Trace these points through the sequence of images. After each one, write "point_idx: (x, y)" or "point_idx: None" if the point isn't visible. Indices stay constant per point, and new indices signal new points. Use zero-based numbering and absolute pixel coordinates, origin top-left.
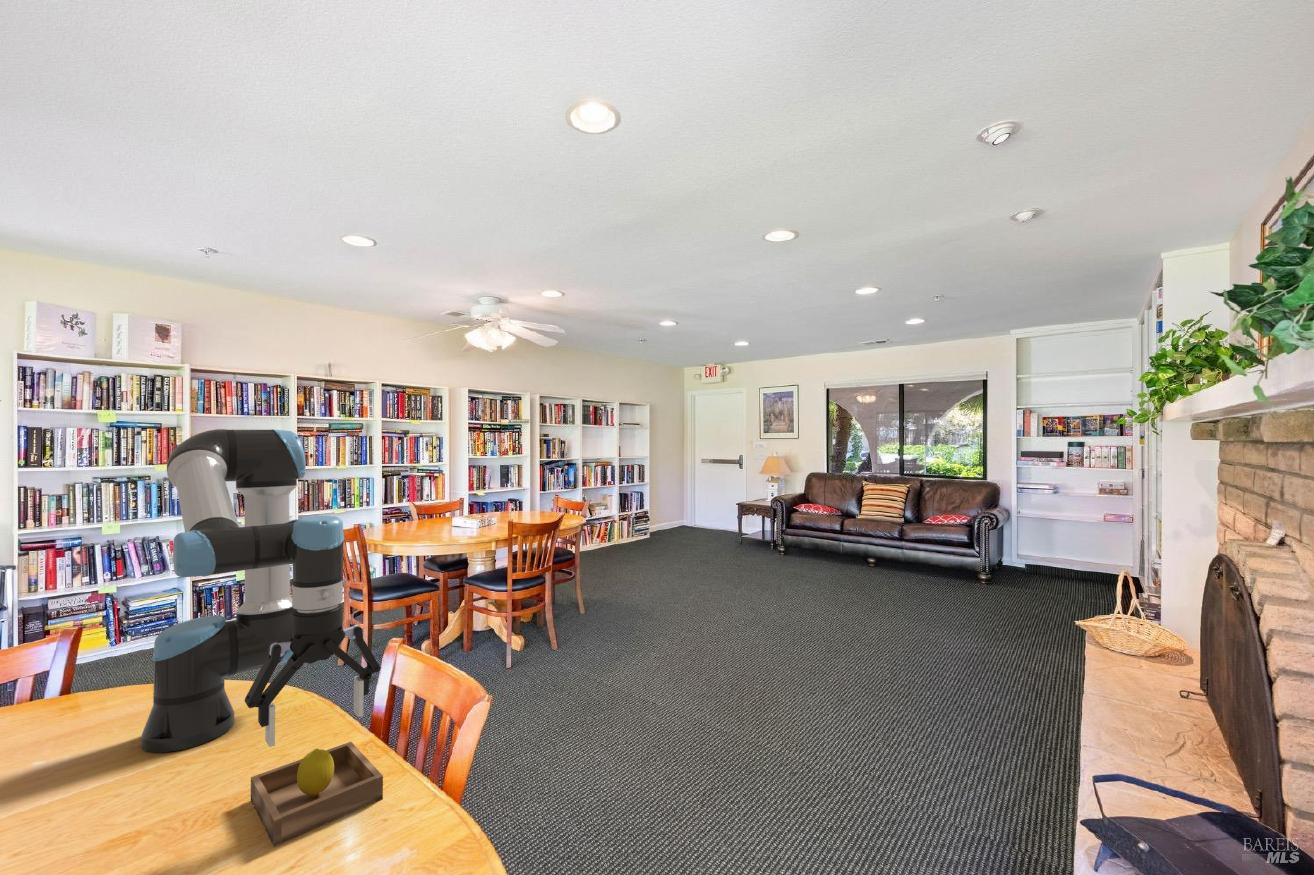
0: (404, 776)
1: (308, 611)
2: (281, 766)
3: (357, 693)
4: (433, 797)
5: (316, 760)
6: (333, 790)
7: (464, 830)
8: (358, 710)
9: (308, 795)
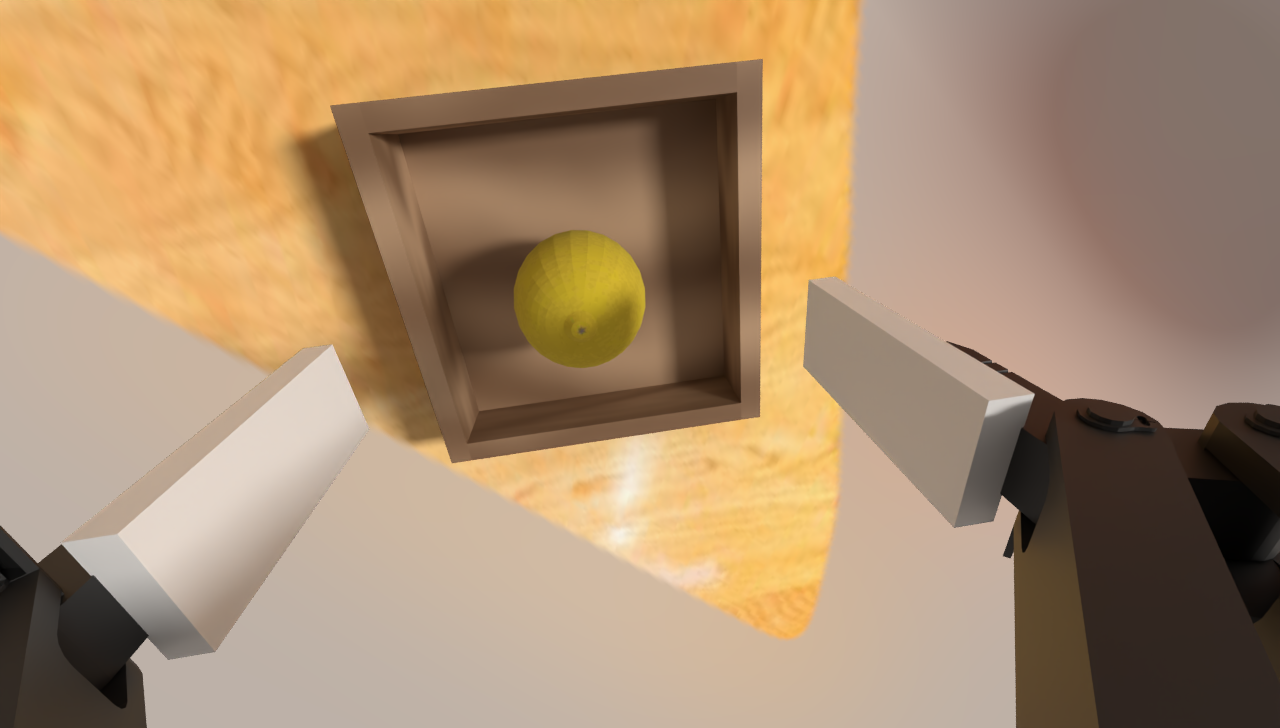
0: None
1: None
2: (457, 93)
3: (883, 418)
4: (830, 446)
5: (577, 362)
6: None
7: (816, 571)
8: (821, 376)
9: None
